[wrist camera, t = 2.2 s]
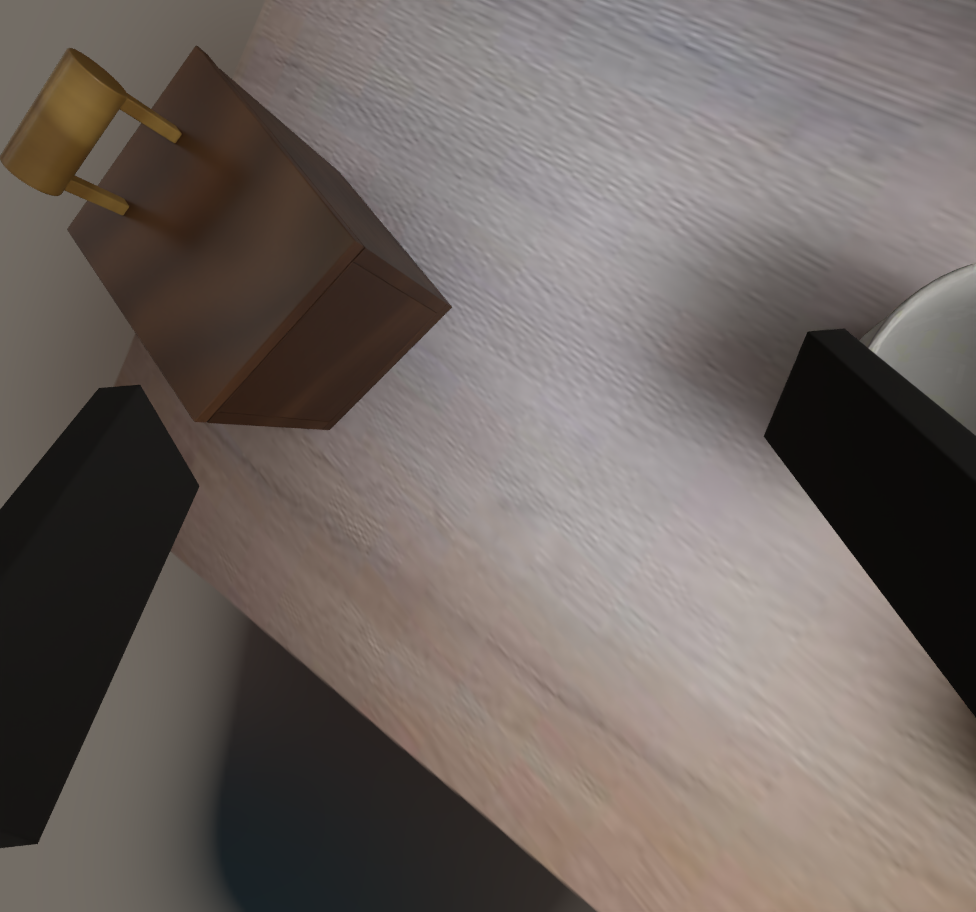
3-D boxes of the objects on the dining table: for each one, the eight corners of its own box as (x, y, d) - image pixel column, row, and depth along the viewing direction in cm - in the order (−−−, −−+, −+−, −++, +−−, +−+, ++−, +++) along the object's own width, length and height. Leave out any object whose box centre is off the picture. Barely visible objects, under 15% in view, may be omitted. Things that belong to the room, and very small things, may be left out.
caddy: (233, 297, 41) (89, 246, 31) (339, 172, 38) (218, 67, 27) (329, 430, 38) (207, 423, 28) (452, 307, 35) (365, 247, 25)
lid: (80, 234, 31) (-57, 183, 25) (208, 55, 28) (86, -52, 22) (206, 423, 28) (85, 416, 22) (365, 247, 25) (273, 184, 19)
